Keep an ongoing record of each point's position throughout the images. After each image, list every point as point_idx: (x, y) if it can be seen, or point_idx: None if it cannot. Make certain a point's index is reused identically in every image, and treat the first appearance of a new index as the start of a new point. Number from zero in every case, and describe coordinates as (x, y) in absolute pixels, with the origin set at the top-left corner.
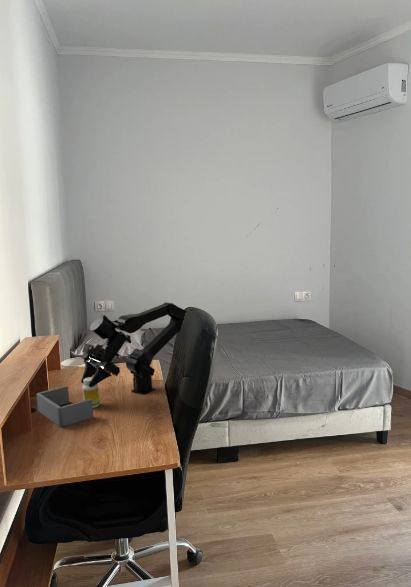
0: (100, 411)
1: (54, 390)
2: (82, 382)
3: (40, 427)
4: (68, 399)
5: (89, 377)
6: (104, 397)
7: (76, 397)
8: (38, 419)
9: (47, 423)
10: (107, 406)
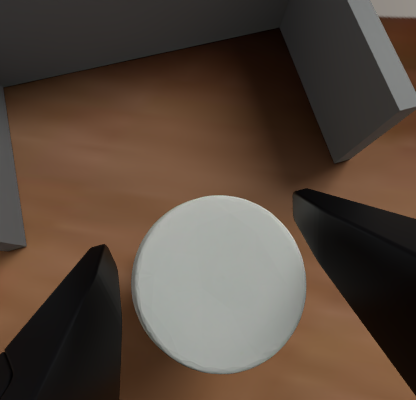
0: None
1: (350, 18)
2: (295, 205)
3: None
4: (342, 152)
5: (295, 294)
6: (334, 392)
7: (412, 214)
8: None
9: None
10: (142, 375)
